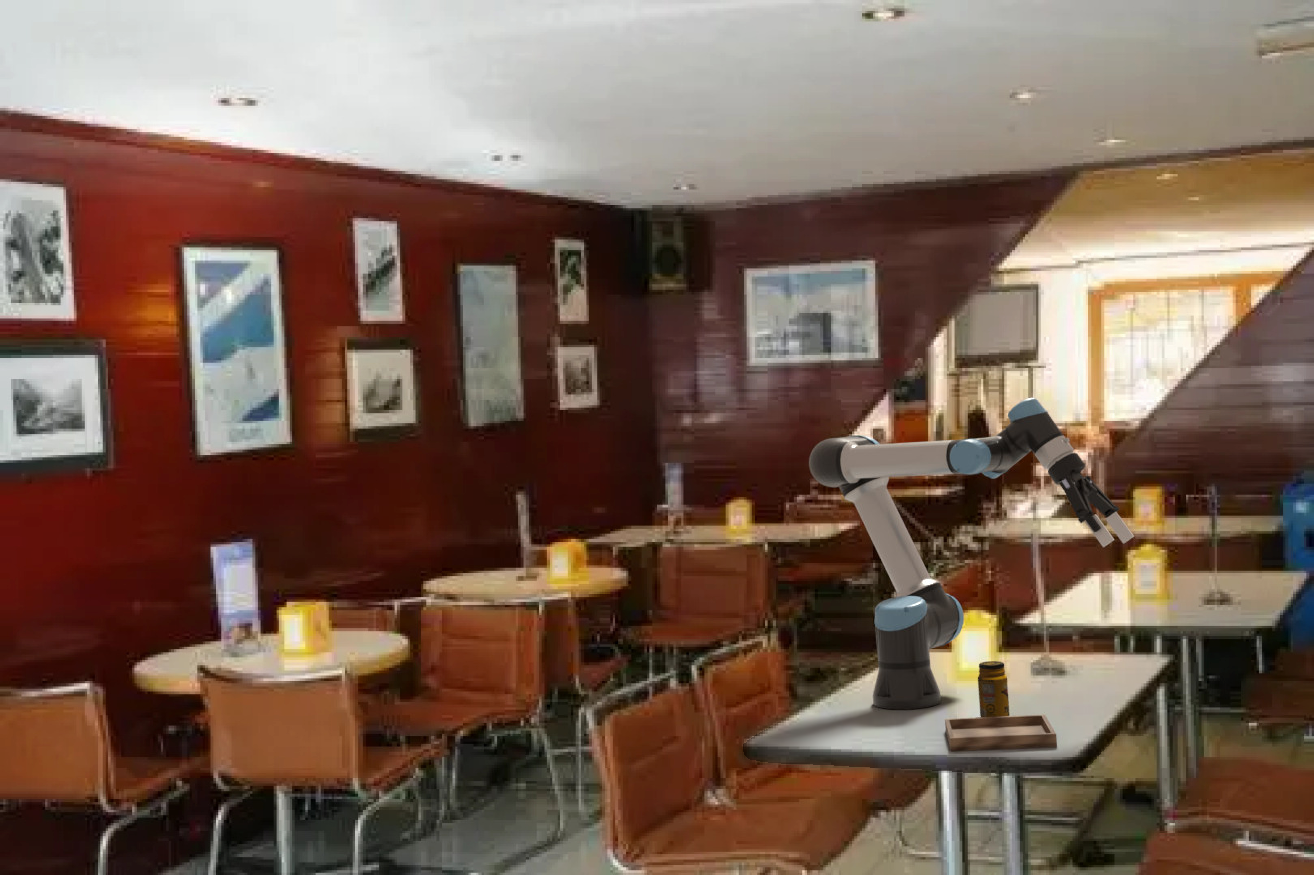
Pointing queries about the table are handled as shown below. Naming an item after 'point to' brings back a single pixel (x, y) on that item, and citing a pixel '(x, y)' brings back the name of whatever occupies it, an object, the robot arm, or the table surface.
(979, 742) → the walnut tray
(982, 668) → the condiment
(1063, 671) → the table surface
